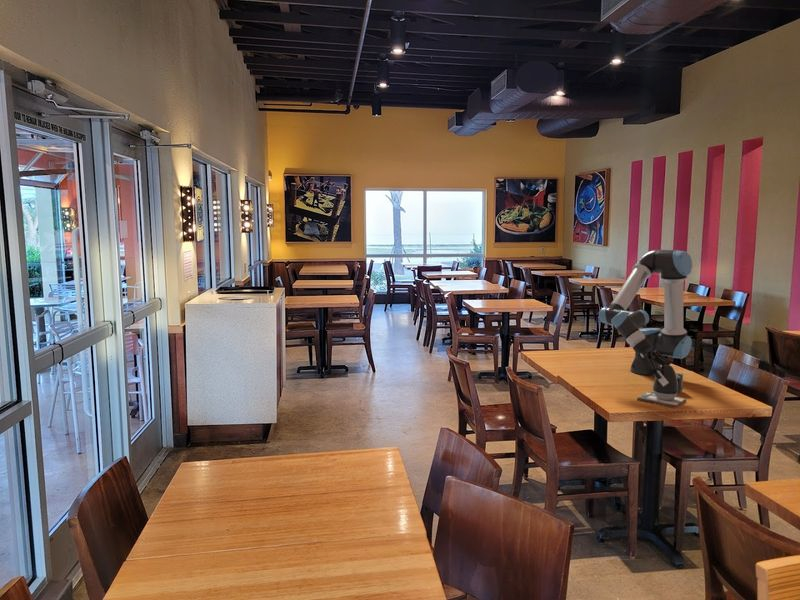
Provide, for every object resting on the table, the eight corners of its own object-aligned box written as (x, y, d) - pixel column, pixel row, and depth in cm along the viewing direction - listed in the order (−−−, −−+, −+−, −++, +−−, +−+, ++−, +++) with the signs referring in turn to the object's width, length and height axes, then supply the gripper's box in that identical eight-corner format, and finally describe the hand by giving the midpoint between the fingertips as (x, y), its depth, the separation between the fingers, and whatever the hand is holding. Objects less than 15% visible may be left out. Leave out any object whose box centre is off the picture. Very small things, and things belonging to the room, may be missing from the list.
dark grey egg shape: (647, 395, 268) (649, 362, 266) (669, 395, 269) (671, 361, 267) (659, 402, 258) (661, 367, 256) (682, 401, 259) (685, 367, 257)
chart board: (648, 393, 275) (648, 390, 275) (685, 401, 265) (685, 398, 265) (637, 400, 265) (637, 397, 265) (675, 408, 255) (675, 405, 254)
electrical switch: (682, 391, 280) (683, 372, 278) (680, 395, 276) (682, 375, 274) (661, 388, 285) (662, 369, 283) (659, 391, 281) (659, 372, 279)
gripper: (643, 343, 281) (674, 381, 273) (621, 351, 262) (654, 392, 254) (655, 333, 276) (687, 371, 268) (634, 341, 258) (668, 382, 250)
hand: (671, 381), depth 261 cm, fingers open, 13 cm apart
